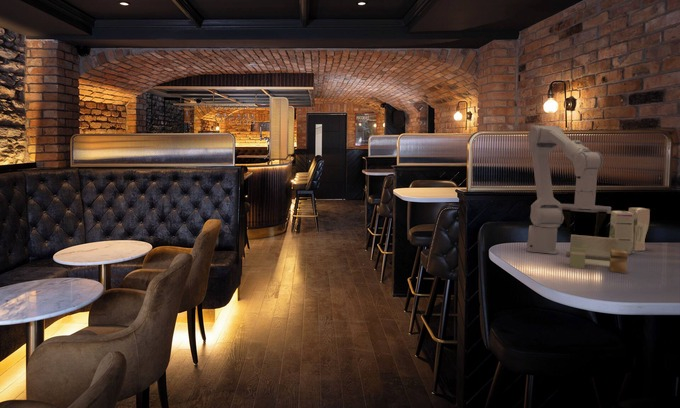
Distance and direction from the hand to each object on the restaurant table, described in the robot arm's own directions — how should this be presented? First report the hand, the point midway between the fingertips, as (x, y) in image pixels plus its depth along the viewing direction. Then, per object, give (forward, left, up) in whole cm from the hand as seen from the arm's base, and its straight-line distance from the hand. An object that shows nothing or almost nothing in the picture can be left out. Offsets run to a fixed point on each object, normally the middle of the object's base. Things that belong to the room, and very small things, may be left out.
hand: (582, 234), depth 156 cm
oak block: (+10, -3, -10) cm, 14 cm away
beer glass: (+19, +37, -10) cm, 43 cm away
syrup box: (+13, +28, -10) cm, 32 cm away
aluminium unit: (+4, +13, -10) cm, 17 cm away
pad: (+4, +4, -10) cm, 11 cm away
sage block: (-1, -3, -10) cm, 10 cm away
